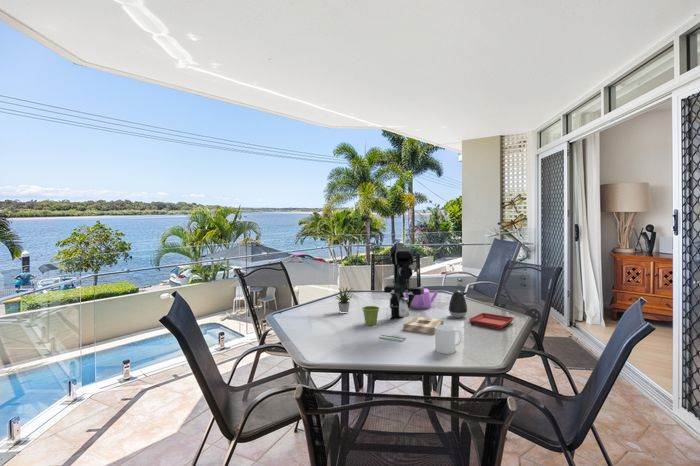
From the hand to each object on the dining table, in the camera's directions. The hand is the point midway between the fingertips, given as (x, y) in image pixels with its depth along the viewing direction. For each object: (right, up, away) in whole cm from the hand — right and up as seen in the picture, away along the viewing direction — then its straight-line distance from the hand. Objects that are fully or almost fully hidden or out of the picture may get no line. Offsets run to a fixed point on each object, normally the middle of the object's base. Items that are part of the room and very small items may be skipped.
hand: (403, 307), depth 184 cm
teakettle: (+20, -11, +58) cm, 62 cm away
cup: (+16, -14, -22) cm, 31 cm away
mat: (-4, -14, -2) cm, 14 cm away
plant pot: (-15, -13, +20) cm, 28 cm away
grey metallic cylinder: (0, -4, 0) cm, 4 cm away
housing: (+11, -13, +8) cm, 19 cm away
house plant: (-29, -12, +45) cm, 55 cm away
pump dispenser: (+36, -12, +31) cm, 49 cm away
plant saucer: (+49, -13, +16) cm, 53 cm away
